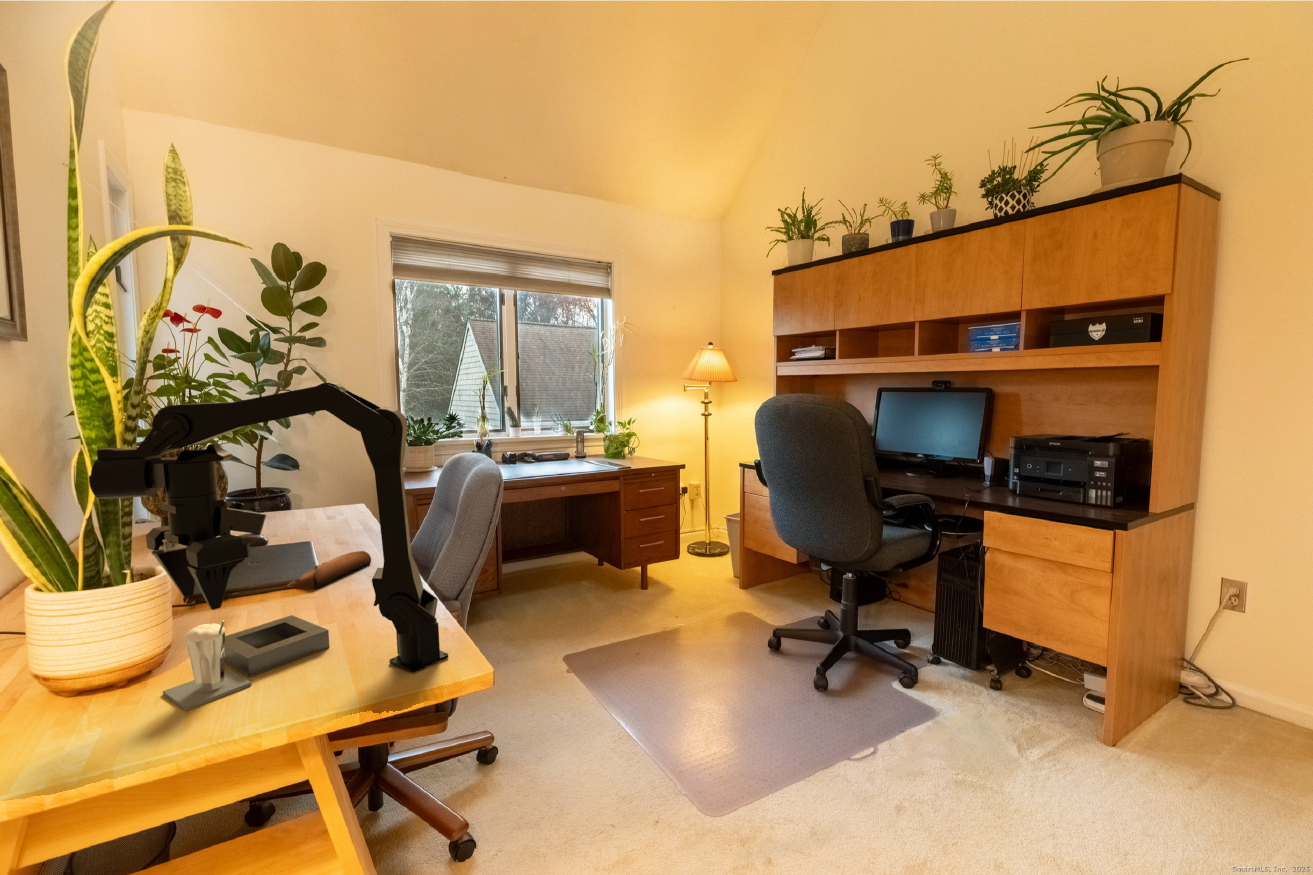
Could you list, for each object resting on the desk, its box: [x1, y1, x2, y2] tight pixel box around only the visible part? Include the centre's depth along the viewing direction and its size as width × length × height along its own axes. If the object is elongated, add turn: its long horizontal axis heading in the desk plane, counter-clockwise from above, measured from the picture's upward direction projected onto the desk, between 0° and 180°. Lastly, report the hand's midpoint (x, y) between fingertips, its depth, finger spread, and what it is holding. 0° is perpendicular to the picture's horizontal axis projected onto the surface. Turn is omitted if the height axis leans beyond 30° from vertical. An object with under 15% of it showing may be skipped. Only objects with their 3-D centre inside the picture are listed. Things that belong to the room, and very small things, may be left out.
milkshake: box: [184, 620, 226, 693], centre depth 87 cm, size 4×5×10 cm
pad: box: [162, 668, 252, 711], centre depth 88 cm, size 8×8×1 cm
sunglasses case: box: [286, 550, 372, 590], centre depth 139 cm, size 18×7×7 cm, turn 170°
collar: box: [224, 614, 330, 678], centre depth 99 cm, size 12×12×3 cm
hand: (201, 602), depth 87 cm, fingers open, 9 cm apart
